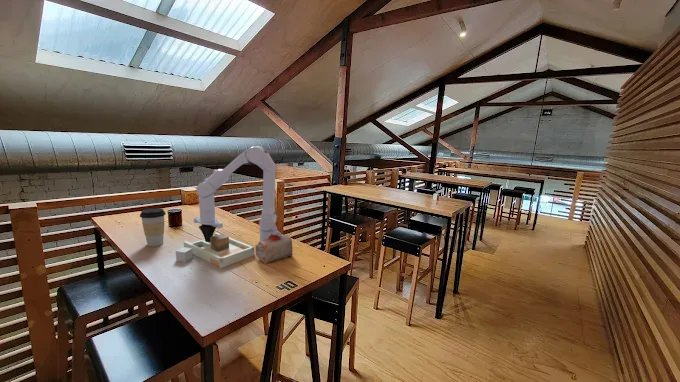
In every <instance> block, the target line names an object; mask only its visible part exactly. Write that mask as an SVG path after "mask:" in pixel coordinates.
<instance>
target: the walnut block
mask: <svg viewBox="0 0 680 382" xmlns="http://www.w3.org/2000/svg"><path fill="white" fill-rule="evenodd" d="M229 238H230V236H228V235H225V234H223V233H219V235H216V236H215V235H213V236H212V237H210V240H211V249H213V250H215V251H217V252H219V251H222V250H225V249H228V248H229Z"/></svg>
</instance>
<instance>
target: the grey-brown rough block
mask: <svg viewBox="0 0 680 382" xmlns="http://www.w3.org/2000/svg"><path fill="white" fill-rule="evenodd" d="M254 247H255V256H256V257H257V258H258V259H259V260H260V261H262V263H263V264H265V265H266V264H269V263H272V262H274V261H275V262H276V261H278V260H282V258H283V259H286V258H288V256H289V257H292V255H294V254H293V240H292V237H290V236H289V235H286V234H282V236H278V235H273V234H272V233H271V235H270V236H269V239H265V240H262V241H260V240H259V241H258V243H257V244H255V246H254ZM285 257H286V258H285Z"/></svg>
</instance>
